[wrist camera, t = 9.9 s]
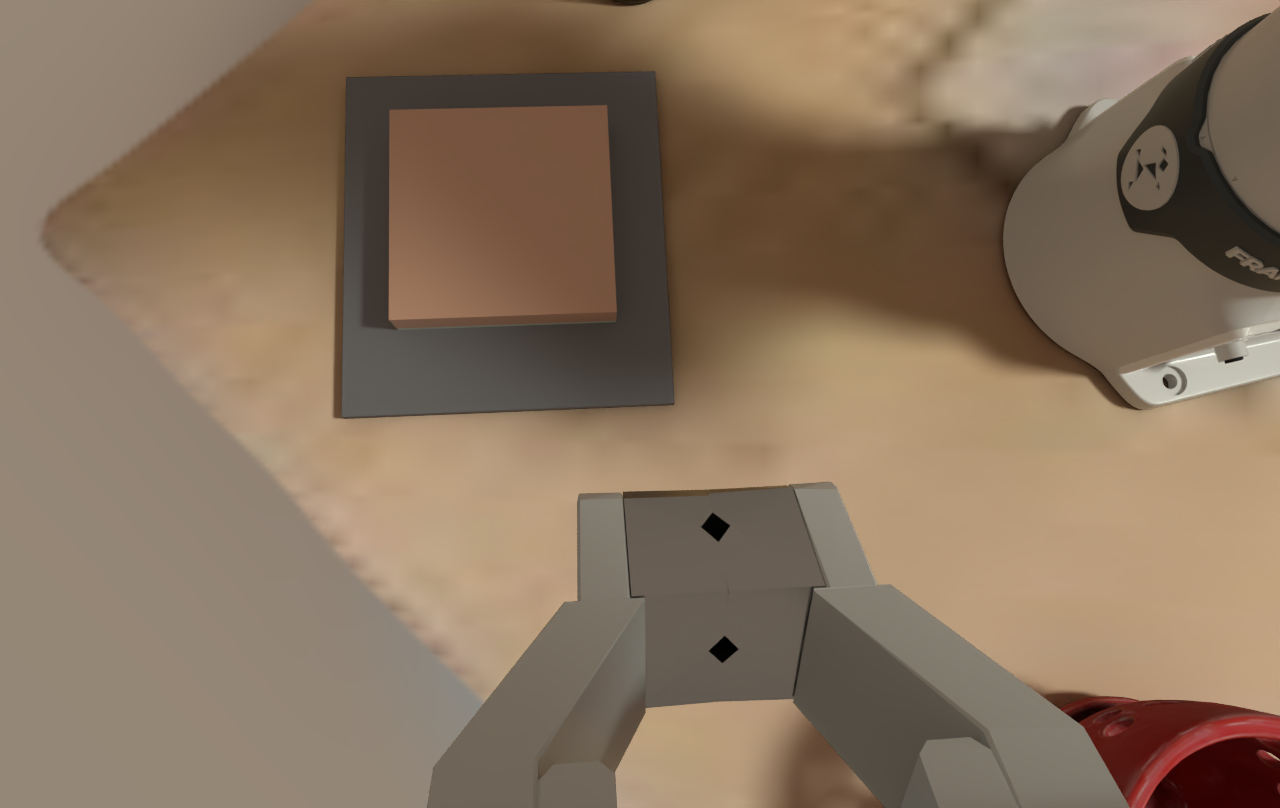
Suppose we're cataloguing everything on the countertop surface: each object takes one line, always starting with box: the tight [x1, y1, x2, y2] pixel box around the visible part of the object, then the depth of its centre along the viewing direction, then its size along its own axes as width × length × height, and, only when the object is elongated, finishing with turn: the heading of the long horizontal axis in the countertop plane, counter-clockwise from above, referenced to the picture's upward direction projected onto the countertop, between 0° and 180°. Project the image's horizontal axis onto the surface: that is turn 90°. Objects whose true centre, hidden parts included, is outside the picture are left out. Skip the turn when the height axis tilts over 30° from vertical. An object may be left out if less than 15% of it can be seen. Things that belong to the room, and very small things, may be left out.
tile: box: [389, 105, 617, 330], centre depth 44 cm, size 12×2×12 cm
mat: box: [342, 71, 674, 419], centre depth 46 cm, size 18×20×1 cm
